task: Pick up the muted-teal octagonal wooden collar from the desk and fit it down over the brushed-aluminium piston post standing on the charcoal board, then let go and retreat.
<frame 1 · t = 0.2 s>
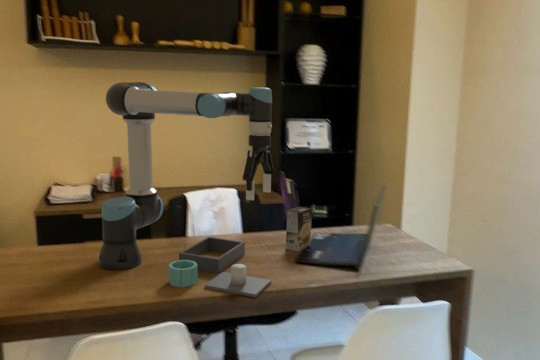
hand: (258, 195, 183), 28 cm above the table, fingers open, 13 cm apart
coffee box: (298, 248, 216), on the table
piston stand: (238, 285, 175), on the table
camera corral: (213, 260, 199), on the table
collar: (183, 281, 177), on the table
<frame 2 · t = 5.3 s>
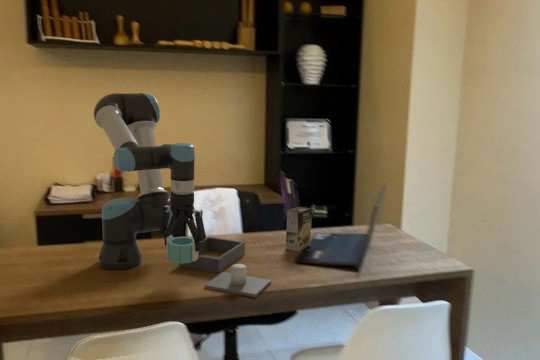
hand: (182, 257, 176), 8 cm above the table, fingers closed on collar, 9 cm apart
collar: (182, 258, 176), point 8 cm above the table, touching gripper
everything else where it was.
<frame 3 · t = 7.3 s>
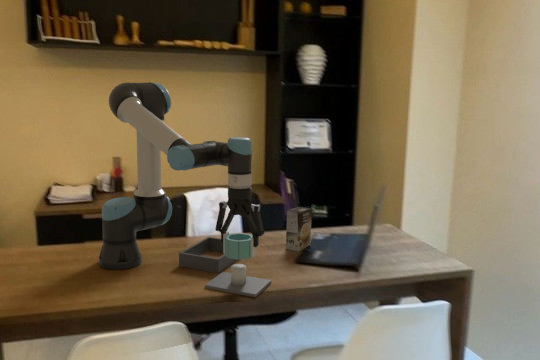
hand: (239, 254, 173), 11 cm above the table, fingers closed on collar, 9 cm apart
collar: (239, 254, 173), point 11 cm above the table, touching gripper
everything else where it was.
when the fingers open (2 cm above the table, at t = 9.6 s): collar stays where it is, resting on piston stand.
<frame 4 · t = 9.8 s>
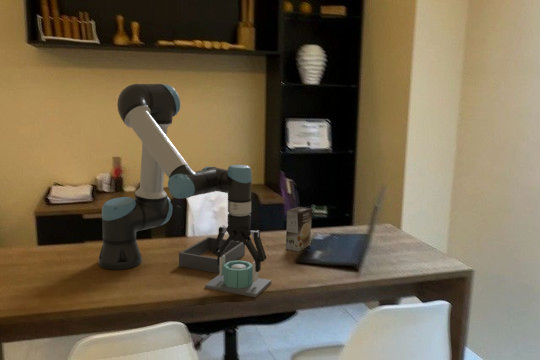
hand: (238, 277, 175), 3 cm above the table, fingers open, 11 cm apart
collar: (238, 282, 175), point 1 cm above the table, touching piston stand
everything else where it was.
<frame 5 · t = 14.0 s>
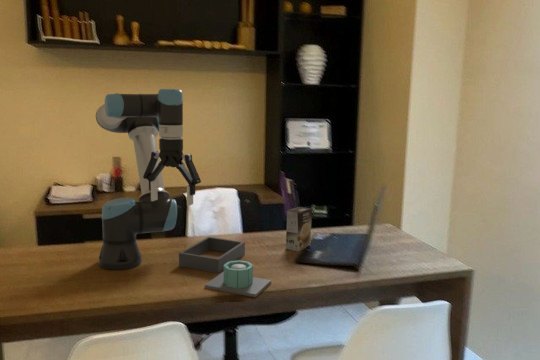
hand: (171, 202, 174), 27 cm above the table, fingers open, 13 cm apart
nothing on the table moved.
at the end: collar 0.1 cm off-centre on the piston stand, point 1.0 cm above the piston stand's base; the gripper is holding nothing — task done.
